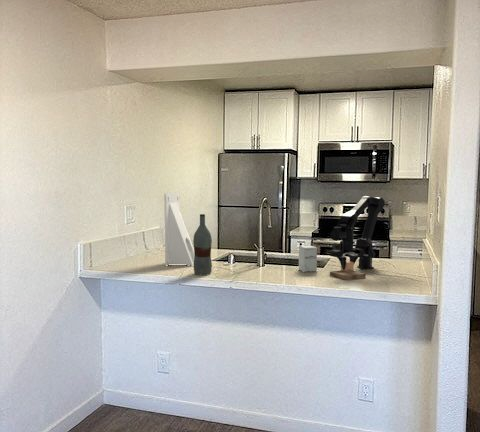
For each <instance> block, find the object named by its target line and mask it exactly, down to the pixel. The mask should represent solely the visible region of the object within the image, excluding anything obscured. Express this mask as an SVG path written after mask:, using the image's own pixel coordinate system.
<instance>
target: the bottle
mask: <svg viewBox="0 0 480 432" xmlns="http://www.w3.org/2000/svg"><path fill="white" fill-rule="evenodd" d="M212 242H213V239H212V234H211V232H210V230H209V228H208V227H207V225H206V214H205V213H201V214H199V225H198V227H197V228H196V231H195V232H194V234H193V241H192V245H193V248H194V254H195V257H194V263H193V264H194V265H193V266H192V267H193V272H194V275H196V274H202V275H201V276H205V275H204V274H209V275H211V274H212V268H213V263H212ZM210 273H211V274H210Z"/></svg>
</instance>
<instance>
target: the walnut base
mask: <svg viewBox="0 0 480 432" xmlns="http://www.w3.org/2000/svg"><path fill="white" fill-rule="evenodd" d="M329 276H330V277H334V278H338V279H341V280H343V281H349V280H357V279H358V280H359V279H366V273H365V272H360V271H356V270H354V271H353V270H341V269H340V270H332V271H329Z"/></svg>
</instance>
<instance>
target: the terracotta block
mask: <svg viewBox="0 0 480 432" xmlns="http://www.w3.org/2000/svg"><path fill="white" fill-rule="evenodd" d="M354 265H355V264H354V262H351V261H350V260H346V265H345V269H344V270H353V271H355V269H354ZM340 270H343V269H342V266H341V265H340Z"/></svg>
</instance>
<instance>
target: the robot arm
mask: <svg viewBox="0 0 480 432" xmlns="http://www.w3.org/2000/svg"><path fill="white" fill-rule="evenodd" d="M385 204H386V202H385V199H384V198H383V197H373V196H371V195H370V196H367V195H364V196H361V199H360V200H359V201H358V202H357V203H356V204H355V205H354V207H353V208H351V209H350V210H349V211H346V212H345V213H344V214H342V215H341V216H340V218H339V221H338V223H337V224H336V226H333V229H332V230H331V232H330V234H329V235H330V239H331V240H332V241H334V243H332V244H331V249H332V250H330V252H329V256H330V257H334V258H337V259H338V260H339V263H340V267H341V266H342V269H343V270H344V269H345V265H346V261H347V258H349V261H351V262H354V265H355V264H356V262H357V260H358V265H357V266H356V268H360V269H363V270H369V269H374V268H375V267H374V266H373V258H375V257H376V252H375V250H374V248H373V245H374V244H373V240H372V237H373V234H374V230H375V226H376V222H377V219H378V216H379V215H380V213H381V212H382V211H383V210H384V207H385ZM366 209H367V210H368V214H367V216H366V217H367V218H366V220H365V223H364V228H363V232H362V235H361V237H360V238H357V239H356V241H354V233H355V232H354V231H356V230H357V228H356V227H355V225H356V223H357V222H358V218H359V216H360V215H361V214H362V213H363V212H364V211H365V210H366ZM335 241H339V243H337V242H335ZM354 244H355V245H354ZM354 246H355V247H354ZM346 256H348V257H346ZM358 258H359V259H358Z"/></svg>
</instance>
